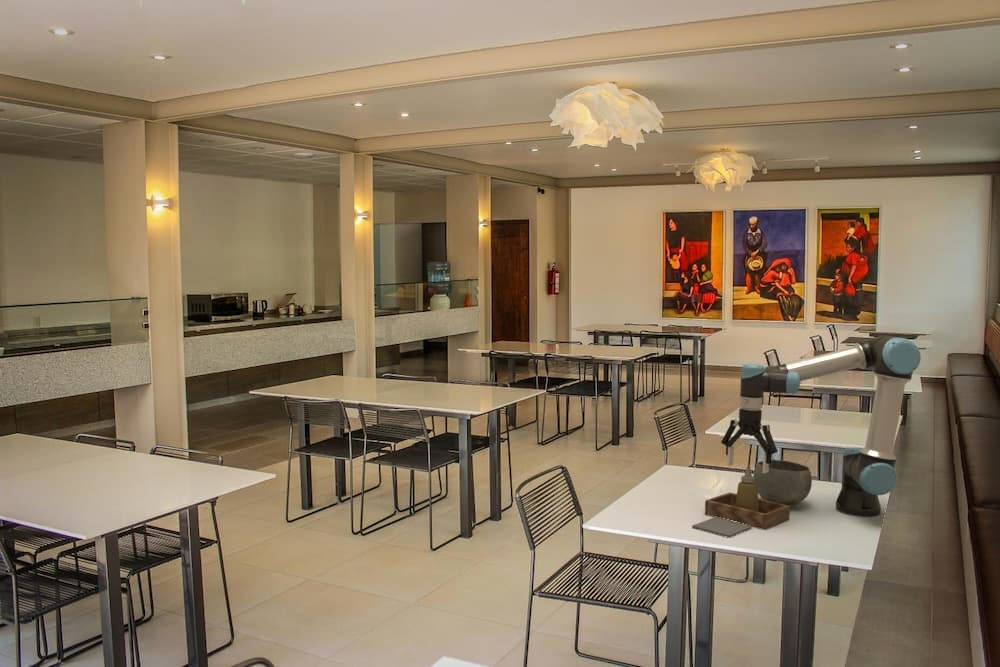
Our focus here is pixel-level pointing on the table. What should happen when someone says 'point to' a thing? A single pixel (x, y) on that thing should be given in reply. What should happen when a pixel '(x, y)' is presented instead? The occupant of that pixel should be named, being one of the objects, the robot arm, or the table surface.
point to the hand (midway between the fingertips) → (747, 468)
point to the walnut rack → (748, 511)
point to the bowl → (783, 482)
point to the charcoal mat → (721, 527)
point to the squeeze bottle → (747, 492)
